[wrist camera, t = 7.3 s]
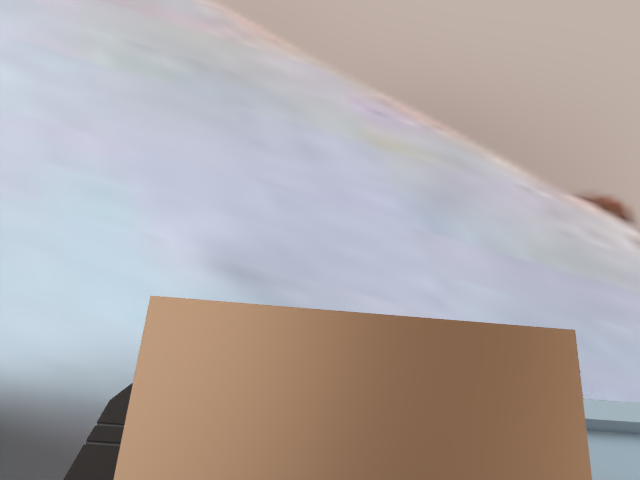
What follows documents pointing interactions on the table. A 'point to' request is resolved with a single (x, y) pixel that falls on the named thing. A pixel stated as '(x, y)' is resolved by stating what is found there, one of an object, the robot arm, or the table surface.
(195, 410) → the block
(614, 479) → the tray
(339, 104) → the table surface
